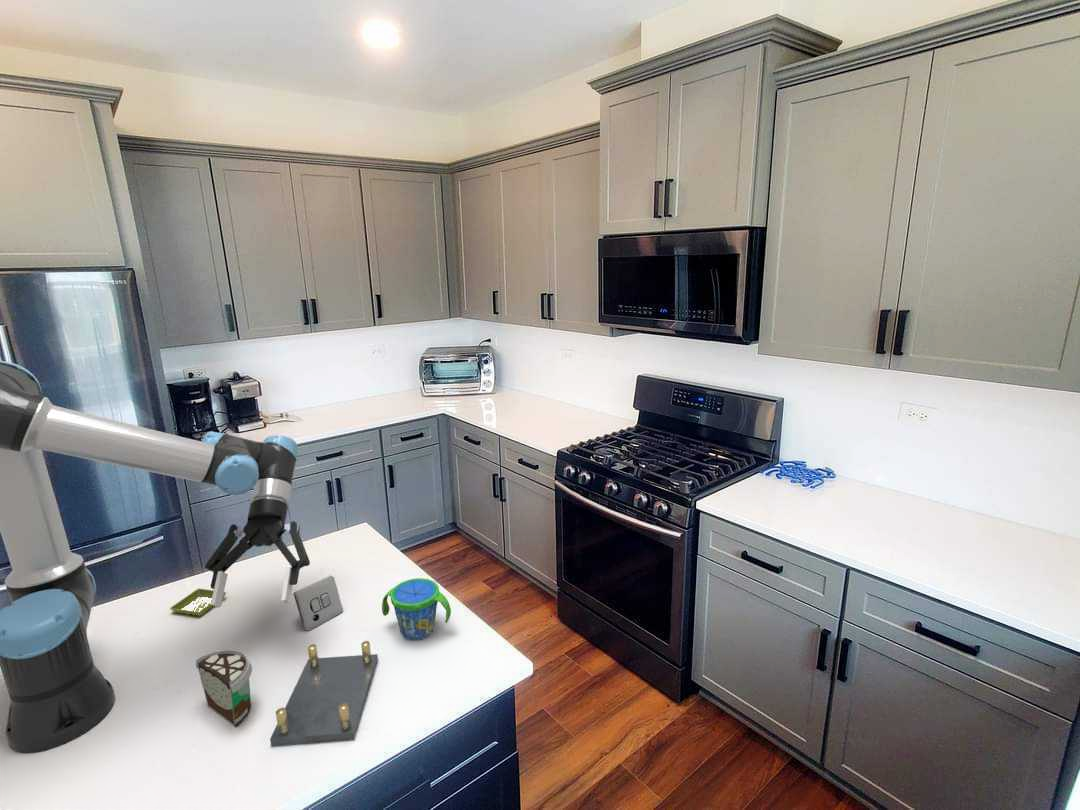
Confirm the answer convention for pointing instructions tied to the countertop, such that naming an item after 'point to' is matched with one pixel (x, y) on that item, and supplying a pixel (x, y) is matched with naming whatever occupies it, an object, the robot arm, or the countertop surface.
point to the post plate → (326, 699)
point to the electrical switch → (318, 602)
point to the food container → (226, 684)
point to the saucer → (189, 599)
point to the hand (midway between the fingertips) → (250, 603)
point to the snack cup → (416, 606)
